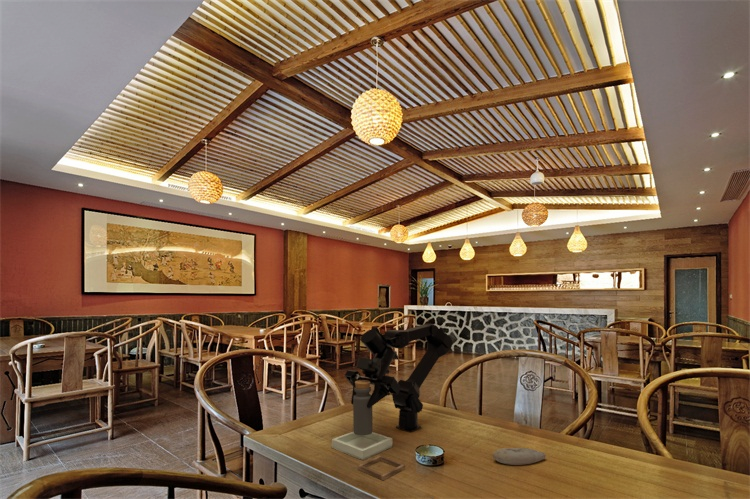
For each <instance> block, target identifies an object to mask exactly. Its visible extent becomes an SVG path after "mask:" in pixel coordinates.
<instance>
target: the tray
mask: <svg viewBox="0 0 750 499" xmlns="http://www.w3.org/2000/svg"><path fill="white" fill-rule="evenodd" d="M391 448H393V438H392V437H389V436H386V435H384V434H380V433H377V432H375V431H374V432H372V433H371V434H369V435H356V434H354V431H353V430H352V431H351V432H348V433H345V434H343V435H340V436H337V437H334V438H332V439H331V449H334V450H336V451H338V452H340V453H343V454H346V455H349V456H350V457H353V458H356V459H358V460H361V461H364V460H367V459H370V458H372V457H373V456H375V455H377V454H380V453H383V452H385V451H387V450H389V449H391Z"/></svg>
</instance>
